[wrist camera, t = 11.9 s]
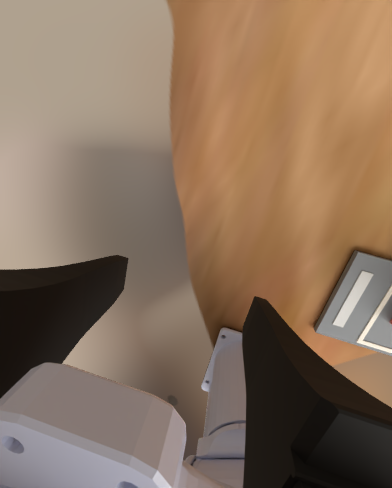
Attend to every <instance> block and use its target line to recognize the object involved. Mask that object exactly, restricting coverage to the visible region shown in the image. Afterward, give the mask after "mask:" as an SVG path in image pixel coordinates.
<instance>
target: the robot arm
mask: <svg viewBox="0 0 392 488" xmlns="http://www.w3.org/2000/svg"><path fill="white" fill-rule="evenodd" d="M127 264H128V258H126V257H123V256H119V255H115V256H109V257H104V258H100V259H96V260H91V261H86V262H81V263H76V264H70V265H65V266H58V267H49V268H39V269H21V270H20V269H19V270H0V488H392V408H391V407H389V406H388V405H386V404H384V403H383V402H381V401H379V400H378V399H376V398H375V397H373V396H372V395H370V394H369V393H367V392H366V391H364V390H363V389H361V388H360V387H358V386H357V385H356V384H354V383H352V382H351V381H350V380H348V379H347V378H346V377H345V376H343V375H342V374H340V373H339V372H338V371H337V370H335V369H334V368H333V367H332V366H330V365H329V364H328V363H327V362H325V361H324V360H323V359H322V358H321V357H320V356H318V355H317V354H316V353H315V352H314V351H313V350H312V349H311V348H310V347H309V346H307V345H306V344H305V343H304V342H303V341H302V340H301V339H300V338H299V336H298V335H297V334H296V333H295V332H294V331H293V330H292V329H291V328H290V327H289V326H288V325H287V323H286V322H285V321H284V320H283V319H282V318H281V316H280V315H279V314H278V313H277V311H276V310H275V309H274V308H273V307H272V305H271V304H270V303H269V302H268V301H267V300H266V299H262V298H259V297H256V296H255V297H254V299H253V302H252V305H251V307H250V310H249V312H248V315H247V317H246V320H245V322H244V325H243V333H241V332H238V331H235V330H231V329H228V328H222V329H221V330H220V333H219V336H218V339H217V341H216V344H215V347H214V350H213V353H212V356H211V359H210V362H209V365H208V367H207V370H206V373H205V376H204V379H203V382H202V386H201V388H202V389H203V390H205V391H208V392H209V394H208V403H207V411H206V420H205V429H204V437H203V438H199V440H198V447H197V455H196V456H194V455H192V456H189V457H187V459H186V460H185V461H183V455H184V450H185V443H186V424H185V422H184V421H183V419H182V418H181V417H180V415H179V414H178V413H177V411H176V410H175V409H174V407H173V406H172V405H171V404H169V403H167V402H165V401H164V400H162V399H160V398H158V397H157V396H155V395H152V394H150V393H147V392H144V391H141V390H138V389H135V388H132V387H130V386H127V385H124V384H121V383H118V382H115V381H112V380H110V379H107V378H104V377H101V376H98V375H95V374H92V373H89V372H86V371H84V370H81V369H78V368H75V367H72V366H69V365H65V364H62V363H63V361H64V360H65V359H66V357H67V356H68V355H69V353H70V352H71V351H72V349H73V348H74V347H75V345H76V344H77V343H78V342H79V340H80V339H81V338H82V337H83V336H84V334H85V333H86V332H87V331H88V330H89V329H90V328H91V327H92V326H93V325H94V324H95V323H96V322H97V321H98V320H99V319H100V318H101V316H102V315H103V314H104V313H105V312H106V311H107V310H108V309H109V308H110V307H111V306H112V305H113V304H114V302H115V301H116V300H117V298H118V297H119V295H120V294H121V293H122V291H123V289H124V284H125V277H126V270H127ZM222 335H225V336H222ZM207 380H208V381H207Z"/></svg>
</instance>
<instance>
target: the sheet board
mask: <svg viewBox="0 0 392 488" xmlns="http://www.w3.org/2000/svg"><path fill="white" fill-rule="evenodd" d="M391 319H392V260H389V259H385V258H382V257H378V256H375V255H371V254H367V253H364V252H360V251H356V250H355V251H354V253H353V255H352V256H351V258H350V260H349V262H348V264H347V266H346V268H345V270H344V272H343V274H342V275H341V277H340V279H339V281H338V283H337V285H336V287H335V289H334V291H333V293H332V295H331V296H330V298H329V300H328V302H327V304H326V306H325V308H324V310H323V312H322V314H321V316H320V317H319V319H318V321H317V323H316V325H315V327H314V330H315V332H316V333H319V334H322V335H325V336H329V337H332V338H335V339H338V340H342V341H345V342H348V343H351V344H355V345H358V346H361V347H364V348H367V349H371V350H374V351H377V352H380V353H384V354H387V355H390V356H392V324H391V323H390V320H391Z"/></svg>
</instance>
